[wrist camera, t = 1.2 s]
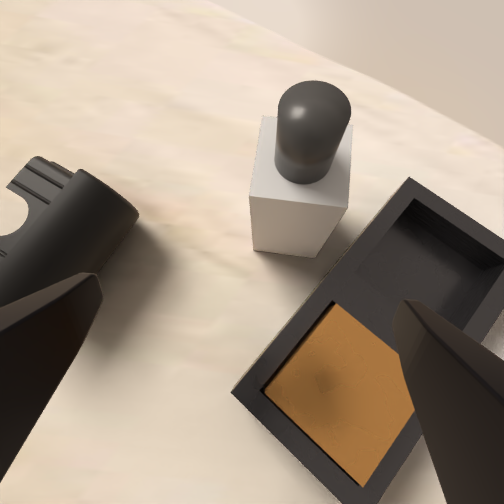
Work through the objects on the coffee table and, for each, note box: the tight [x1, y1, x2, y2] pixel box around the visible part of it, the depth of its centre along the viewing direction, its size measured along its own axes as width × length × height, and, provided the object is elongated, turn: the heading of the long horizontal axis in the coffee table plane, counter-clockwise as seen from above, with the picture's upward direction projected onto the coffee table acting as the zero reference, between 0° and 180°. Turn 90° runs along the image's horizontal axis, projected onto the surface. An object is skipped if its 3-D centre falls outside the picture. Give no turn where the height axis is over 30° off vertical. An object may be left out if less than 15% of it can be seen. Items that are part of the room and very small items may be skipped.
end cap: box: [0, 156, 139, 308], centre depth 21 cm, size 10×7×7 cm
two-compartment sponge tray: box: [231, 177, 504, 504], centre depth 20 cm, size 10×20×4 cm, turn 139°
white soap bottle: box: [249, 81, 353, 258], centre depth 18 cm, size 5×5×13 cm
